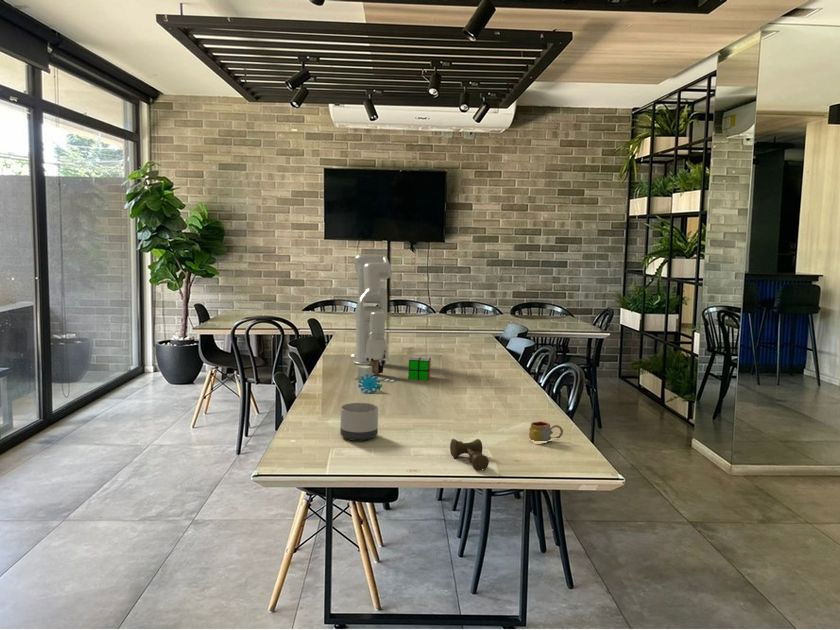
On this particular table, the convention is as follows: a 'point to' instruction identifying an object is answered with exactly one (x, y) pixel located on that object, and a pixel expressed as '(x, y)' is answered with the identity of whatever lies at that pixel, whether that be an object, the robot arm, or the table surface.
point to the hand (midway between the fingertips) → (376, 371)
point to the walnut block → (374, 366)
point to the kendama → (470, 452)
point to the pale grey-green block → (364, 371)
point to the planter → (359, 421)
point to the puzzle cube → (419, 368)
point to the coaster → (389, 380)
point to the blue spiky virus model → (370, 383)
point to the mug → (542, 431)
